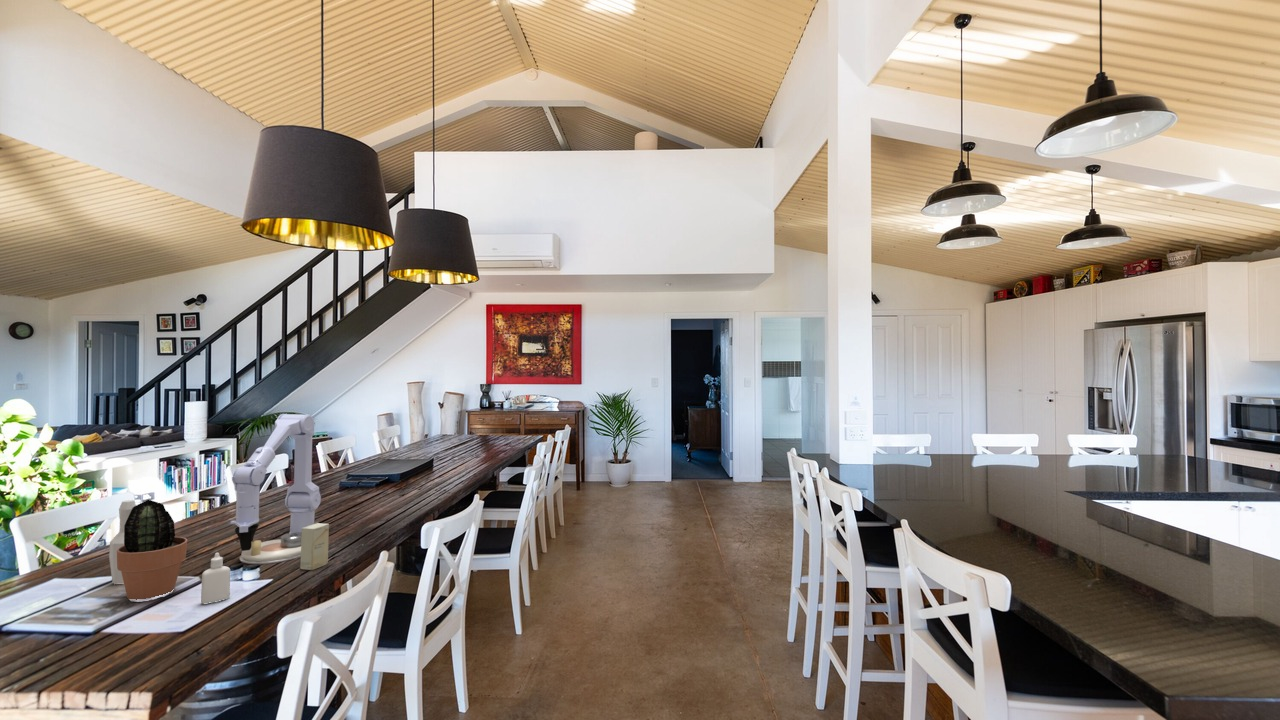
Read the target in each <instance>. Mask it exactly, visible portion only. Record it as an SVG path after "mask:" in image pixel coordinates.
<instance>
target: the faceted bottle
mask: <svg viewBox="0 0 1280 720" xmlns="http://www.w3.org/2000/svg"><path fill="white" fill-rule="evenodd" d="M136 505H137V504H136V502H135V500H134V499H128V500H122V501H121V503H120V506H119V508H118V512H119V514H118V515H119V531H118V533H117V534H116V535H115V536H114V537H113V538H112V539H111V540H110V542H109V554H108V555H109V565H110V566H109V567H110V574H111V580H112V582H111V583H112V584H113V583H114V585H115V584H117V583H124V581H123V577H122V573H121V571H119V570H118V569H117V549H118V548H119V547H121V546H123V545H124V525H125V523H126V521H127V519H128V517H129V514H130V512H131V510H132V508H133V507H134V506H136Z"/></svg>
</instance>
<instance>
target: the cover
mask: <svg viewBox="0 0 1280 720" xmlns="http://www.w3.org/2000/svg"><path fill="white" fill-rule="evenodd" d="M301 538H302V532H297V533H290V532H289V533H285V534H283V535H281V536H280V539H281V544H280V547H281V548H296V547H301Z"/></svg>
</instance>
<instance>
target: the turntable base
mask: <svg viewBox="0 0 1280 720" xmlns="http://www.w3.org/2000/svg"><path fill="white" fill-rule="evenodd" d="M299 558H301V554H300V555H297V556H294V557H291V558H286V559H281V560H275V561H265V562H252V561H246V560H243V559H242V554H241V555H240V556H239V559H238V560H239V561H240V562H241V563H244V564H247V565H268V564H270V565H271V564H276V563H283V562H287V561H292V560H295V559H299Z"/></svg>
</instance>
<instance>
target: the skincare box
mask: <svg viewBox="0 0 1280 720" xmlns="http://www.w3.org/2000/svg"><path fill="white" fill-rule="evenodd" d="M329 529H330V524H329V523H322V522H321V523H319V522H317V523H314V524H313V525H310V526H307V527H304V528H302V538H301V557H300V567H299V568H300V570H305V571H314V570H316V569H318V568H321V567H324V566H325V565H328V564H329V563H328V562H329V533H330V532H329Z"/></svg>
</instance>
